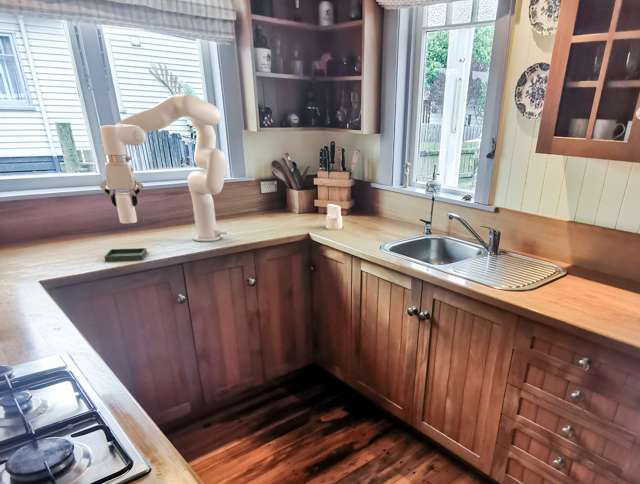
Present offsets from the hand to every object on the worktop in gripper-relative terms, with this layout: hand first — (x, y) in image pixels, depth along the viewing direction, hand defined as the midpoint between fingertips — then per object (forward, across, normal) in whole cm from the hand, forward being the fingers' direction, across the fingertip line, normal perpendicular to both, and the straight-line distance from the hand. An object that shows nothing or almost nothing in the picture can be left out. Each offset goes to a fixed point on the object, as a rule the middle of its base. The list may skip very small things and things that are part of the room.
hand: (125, 205), depth 190 cm
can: (+7, 0, 0) cm, 7 cm away
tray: (+21, +3, +1) cm, 22 cm away
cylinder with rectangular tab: (+21, -94, -41) cm, 105 cm away
